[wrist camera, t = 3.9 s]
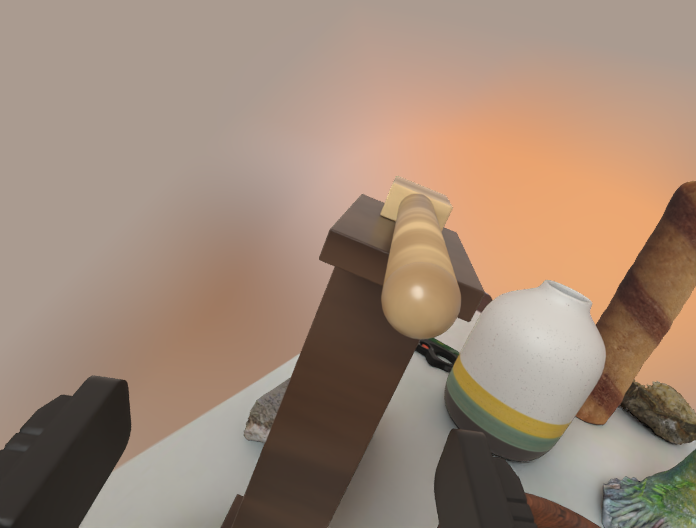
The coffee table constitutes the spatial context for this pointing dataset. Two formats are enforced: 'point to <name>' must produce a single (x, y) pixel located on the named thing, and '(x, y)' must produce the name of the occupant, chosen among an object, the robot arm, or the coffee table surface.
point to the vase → (526, 370)
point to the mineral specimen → (662, 411)
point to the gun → (436, 347)
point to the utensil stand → (339, 379)
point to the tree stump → (653, 499)
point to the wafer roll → (646, 303)
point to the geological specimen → (264, 413)
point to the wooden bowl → (555, 515)
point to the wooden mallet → (419, 263)
